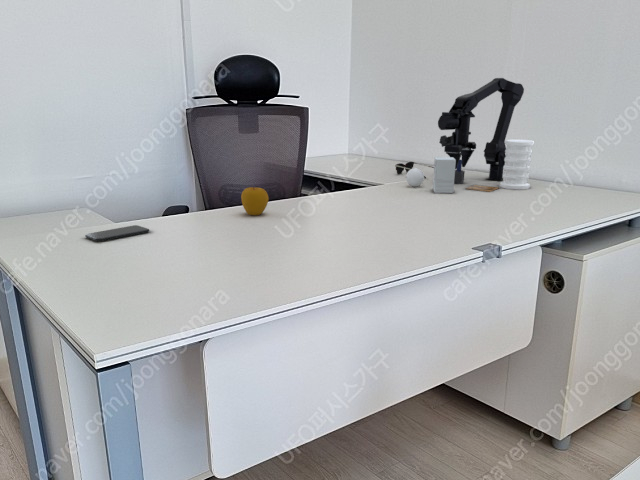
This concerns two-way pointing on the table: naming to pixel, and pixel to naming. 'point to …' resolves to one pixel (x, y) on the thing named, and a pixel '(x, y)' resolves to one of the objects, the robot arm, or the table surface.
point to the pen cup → (459, 177)
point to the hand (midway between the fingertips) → (458, 168)
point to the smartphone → (117, 233)
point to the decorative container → (517, 164)
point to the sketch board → (482, 188)
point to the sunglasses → (406, 167)
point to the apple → (254, 200)
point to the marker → (459, 166)
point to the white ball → (415, 177)
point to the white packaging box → (444, 174)
